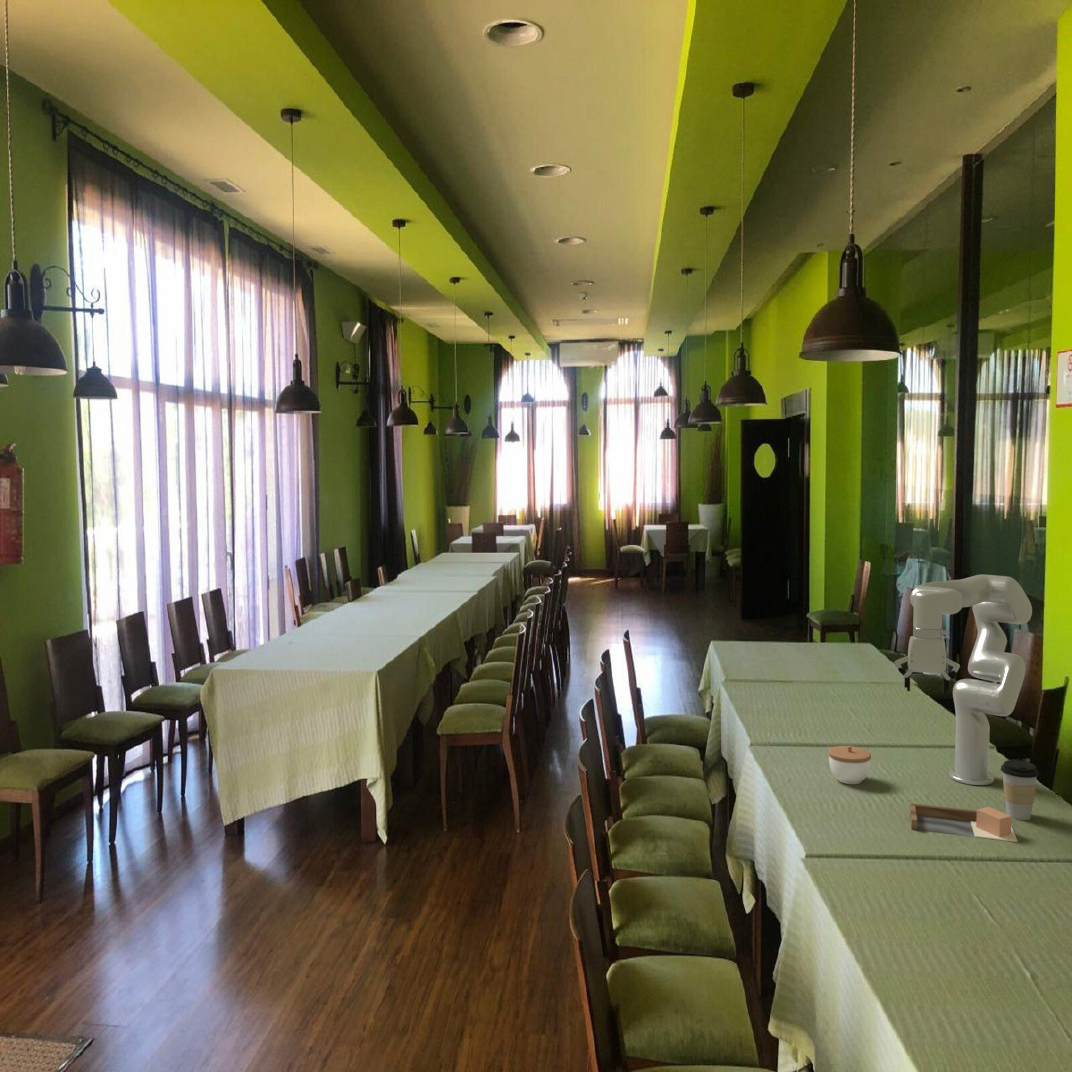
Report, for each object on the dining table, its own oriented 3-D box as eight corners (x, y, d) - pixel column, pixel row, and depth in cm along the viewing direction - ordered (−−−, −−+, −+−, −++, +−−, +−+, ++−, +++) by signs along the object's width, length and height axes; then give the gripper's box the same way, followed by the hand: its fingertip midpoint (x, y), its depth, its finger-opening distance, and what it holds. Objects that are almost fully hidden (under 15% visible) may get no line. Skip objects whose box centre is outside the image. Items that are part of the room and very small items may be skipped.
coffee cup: (1018, 825, 237) (1019, 772, 235) (991, 812, 246) (992, 761, 245) (1045, 821, 239) (1047, 768, 238) (1018, 808, 248) (1019, 757, 247)
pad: (970, 822, 239) (970, 821, 239) (1011, 826, 235) (1011, 825, 235) (974, 836, 229) (974, 835, 229) (1017, 842, 226) (1017, 841, 226)
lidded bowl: (874, 788, 265) (874, 753, 264) (831, 786, 268) (831, 751, 267) (866, 774, 277) (867, 740, 276) (825, 772, 280) (826, 739, 279)
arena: (909, 813, 246) (909, 803, 246) (1011, 825, 237) (1011, 814, 237) (911, 830, 235) (911, 819, 235) (1018, 843, 226) (1018, 832, 225)
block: (976, 827, 235) (976, 809, 234) (987, 824, 236) (988, 806, 236) (999, 837, 228) (999, 819, 228) (1011, 834, 230) (1011, 815, 230)
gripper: (959, 632, 250) (957, 690, 251) (894, 629, 256) (893, 686, 258) (961, 637, 243) (960, 697, 244) (895, 634, 249) (894, 692, 251)
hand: (926, 691), depth 251 cm, fingers open, 9 cm apart
